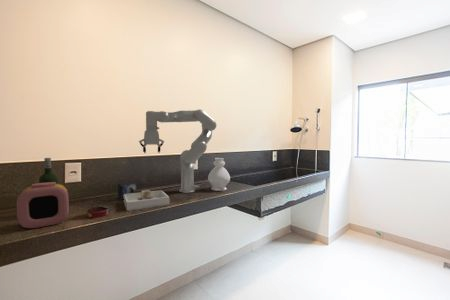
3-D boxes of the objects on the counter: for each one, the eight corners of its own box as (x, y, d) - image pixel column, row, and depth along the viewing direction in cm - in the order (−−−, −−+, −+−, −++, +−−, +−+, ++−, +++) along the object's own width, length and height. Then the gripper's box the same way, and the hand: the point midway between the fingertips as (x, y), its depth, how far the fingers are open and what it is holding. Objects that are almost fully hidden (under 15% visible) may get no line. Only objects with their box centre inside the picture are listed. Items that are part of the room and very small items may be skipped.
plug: (149, 200, 143) (149, 189, 142) (150, 202, 139) (150, 191, 138) (141, 201, 141) (141, 190, 140) (142, 203, 137) (142, 192, 136)
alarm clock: (17, 232, 97) (15, 188, 96) (21, 224, 106) (19, 183, 105) (69, 222, 108) (68, 183, 107) (68, 216, 117) (67, 179, 116)
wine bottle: (56, 209, 127) (54, 157, 125) (60, 212, 122) (58, 158, 120) (38, 213, 121) (36, 158, 119) (42, 216, 116) (40, 159, 114)
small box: (120, 200, 146) (119, 184, 146) (117, 198, 151) (117, 183, 151) (136, 197, 153) (136, 182, 152) (133, 195, 158) (133, 181, 157)
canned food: (90, 222, 121) (89, 204, 124) (110, 218, 124) (109, 200, 128) (84, 219, 111) (83, 199, 114) (106, 215, 114) (105, 196, 118)
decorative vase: (220, 192, 168) (221, 159, 167) (203, 189, 179) (203, 158, 178) (234, 188, 183) (234, 158, 181) (217, 185, 193) (217, 156, 192)
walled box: (161, 197, 154) (161, 190, 154) (169, 205, 137) (169, 197, 137) (123, 201, 143) (123, 194, 142) (127, 211, 125) (126, 202, 125)
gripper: (162, 129, 167) (162, 152, 168) (138, 128, 158) (138, 152, 159) (165, 128, 160) (165, 152, 161) (139, 128, 152) (140, 153, 153)
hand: (151, 152), depth 160 cm, fingers open, 9 cm apart
